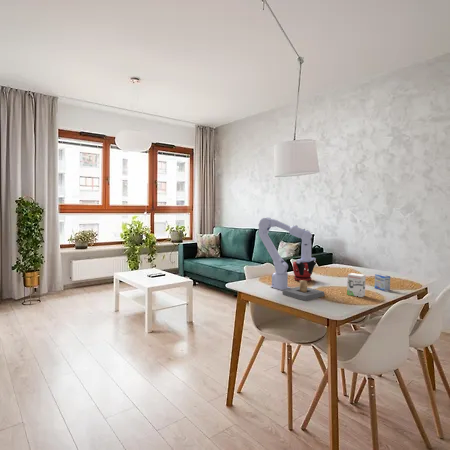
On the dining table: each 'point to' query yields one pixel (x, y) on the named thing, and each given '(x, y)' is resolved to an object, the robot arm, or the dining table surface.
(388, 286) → the medicine box
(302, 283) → the peg
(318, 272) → the dining table surface
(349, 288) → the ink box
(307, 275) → the plant pot
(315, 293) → the docking block
